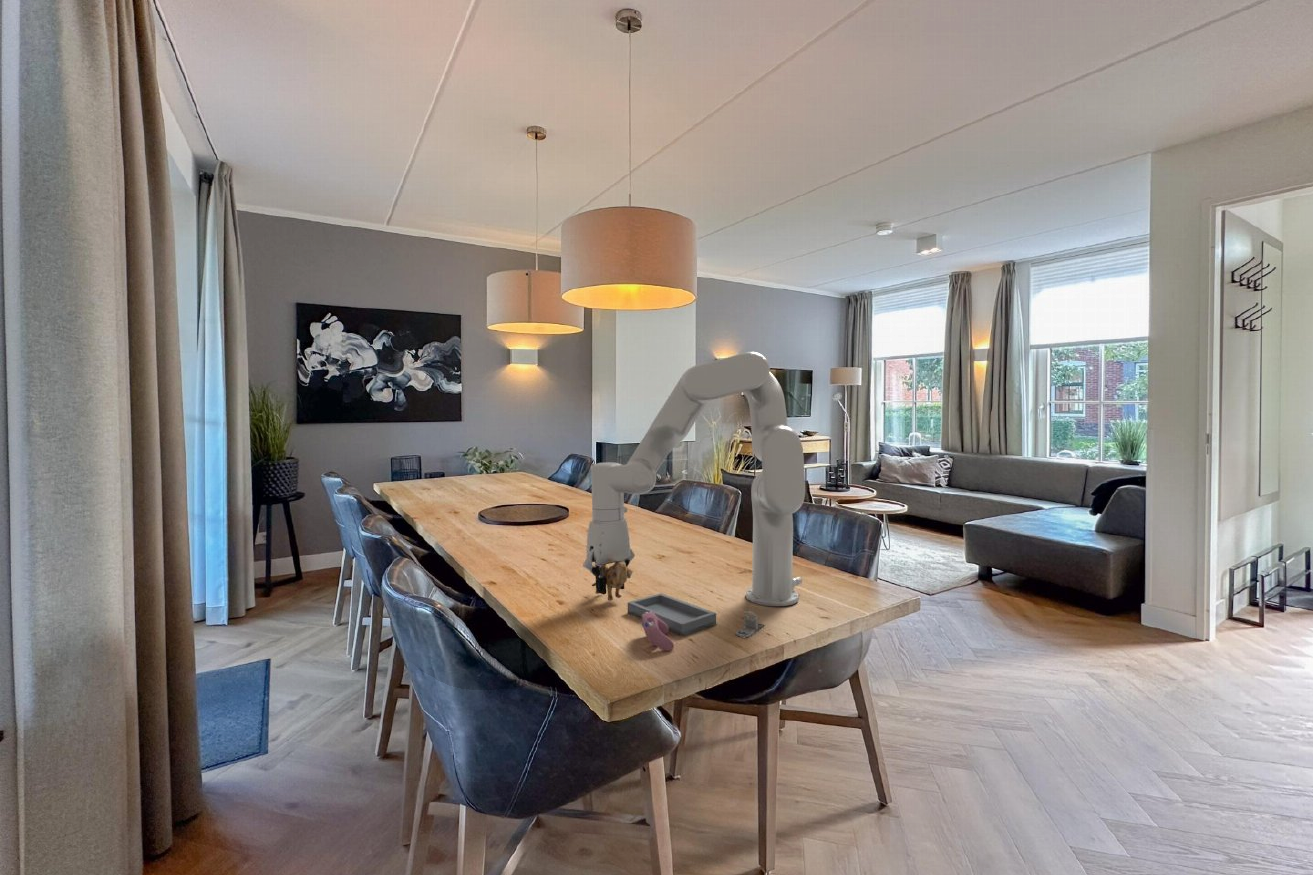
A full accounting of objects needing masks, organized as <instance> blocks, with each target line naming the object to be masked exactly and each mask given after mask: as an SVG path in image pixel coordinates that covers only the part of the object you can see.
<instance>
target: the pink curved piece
mask: <svg viewBox="0 0 1313 875" xmlns="http://www.w3.org/2000/svg"><path fill="white" fill-rule="evenodd" d="M641 620H642V621H640V625H641V626H642V628H643V631H644V635H645V636H646V637H647V639H648V641H649V644H652V646H653V647H657V648H658V649H660V650H662V651H665V652H671V651H672V650H674V646H675V645H674V642H673V640H672V639H671V638H670V637H668V636H667V635H668V634H669V632H670V631H669V627H668V625H667V624H666V623H665V622H663V621H662V620H661V619H659V618H658V617H657V616H656V615H655V614H654V613H652V612H651V611H650V612H646V613H644V614H643V615H642V619H641Z"/></svg>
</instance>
